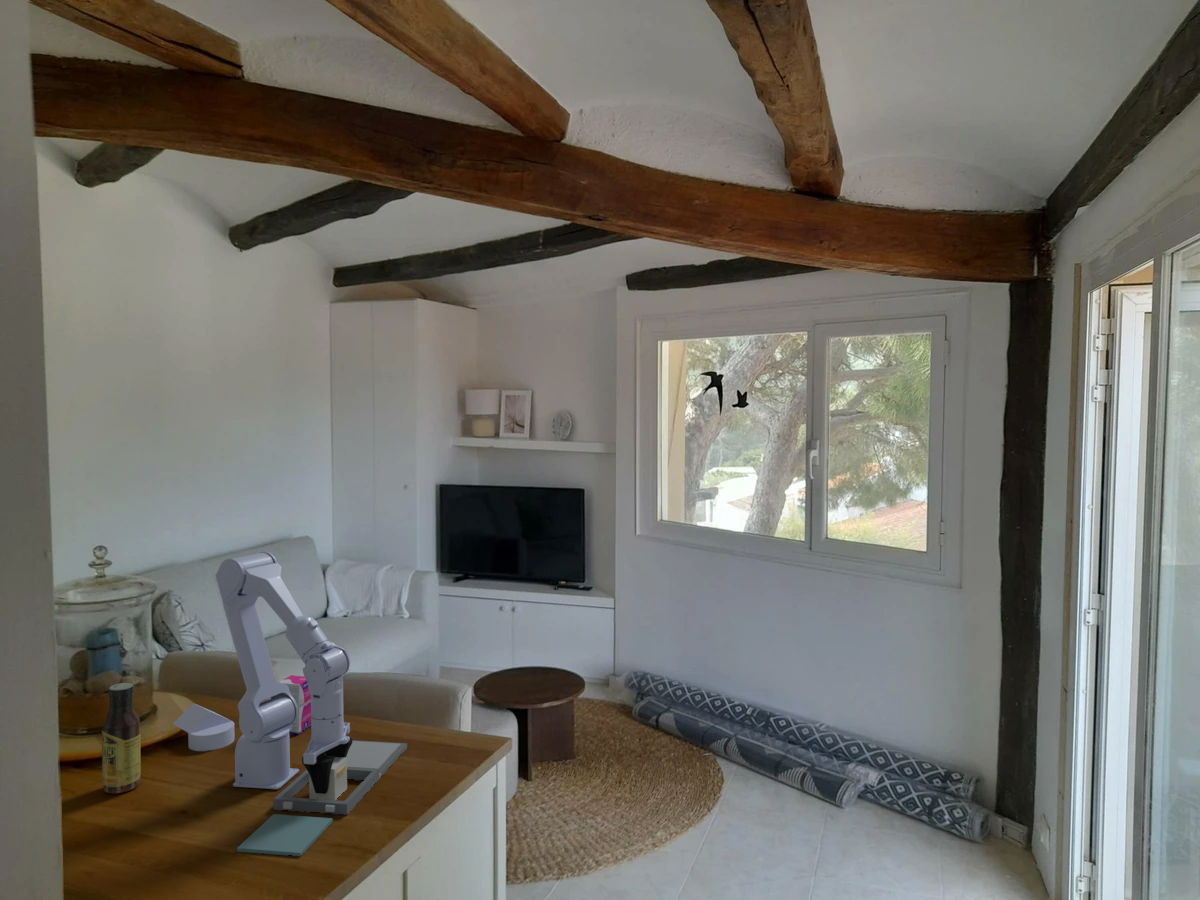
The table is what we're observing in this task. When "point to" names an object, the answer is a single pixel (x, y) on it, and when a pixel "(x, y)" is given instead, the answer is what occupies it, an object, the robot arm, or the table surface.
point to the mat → (285, 835)
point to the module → (333, 781)
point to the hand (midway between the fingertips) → (328, 785)
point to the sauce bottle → (121, 742)
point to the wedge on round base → (205, 728)
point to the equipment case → (361, 765)
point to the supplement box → (300, 702)
